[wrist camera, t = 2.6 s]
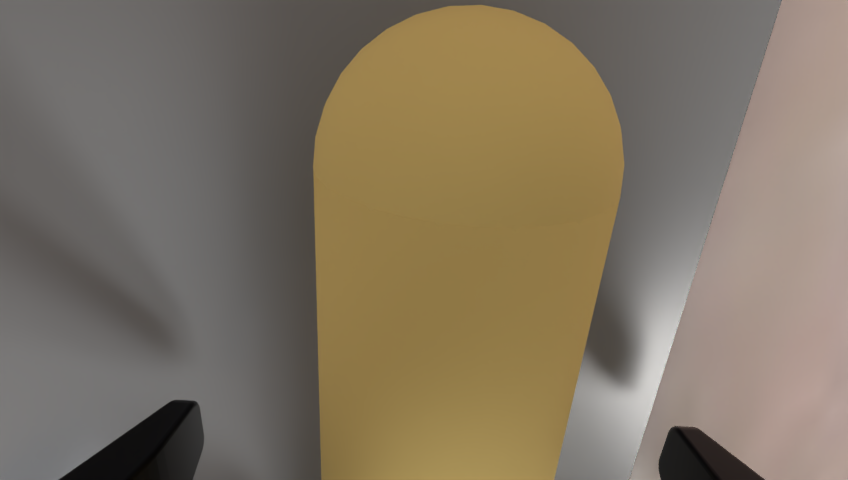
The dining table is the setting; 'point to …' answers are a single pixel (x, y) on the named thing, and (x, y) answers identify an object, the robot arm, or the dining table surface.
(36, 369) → the capsule display stand
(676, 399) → the dining table surface
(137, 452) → the robot arm
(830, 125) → the dining table surface
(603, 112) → the yellow pill shape
